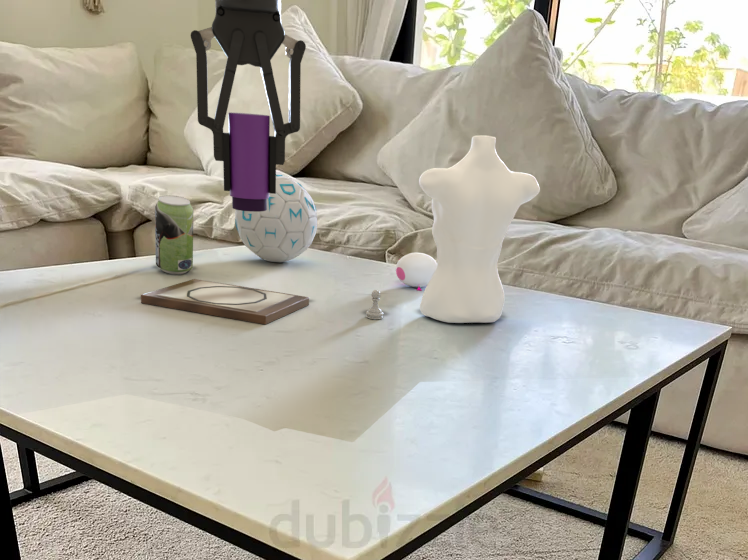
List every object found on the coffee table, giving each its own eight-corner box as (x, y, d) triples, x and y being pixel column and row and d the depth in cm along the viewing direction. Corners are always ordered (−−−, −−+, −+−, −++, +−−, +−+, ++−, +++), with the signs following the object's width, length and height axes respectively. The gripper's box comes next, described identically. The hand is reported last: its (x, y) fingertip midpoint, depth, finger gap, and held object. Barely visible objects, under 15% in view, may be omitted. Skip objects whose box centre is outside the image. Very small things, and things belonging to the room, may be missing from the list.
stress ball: (430, 303, 139) (428, 267, 140) (445, 285, 132) (443, 248, 132) (389, 301, 137) (387, 265, 138) (402, 283, 130) (400, 244, 130)
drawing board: (140, 303, 112) (140, 293, 111) (194, 286, 124) (194, 277, 123) (265, 324, 106) (265, 314, 106) (309, 305, 118) (309, 295, 118)
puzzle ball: (332, 263, 149) (335, 178, 142) (276, 272, 138) (276, 180, 131) (275, 250, 157) (276, 169, 150) (218, 257, 146) (215, 170, 139)
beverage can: (181, 267, 136) (178, 193, 130) (203, 275, 131) (201, 199, 126) (148, 269, 132) (143, 193, 126) (170, 278, 127) (166, 200, 122)
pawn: (372, 320, 113) (374, 292, 111) (362, 316, 114) (363, 288, 113) (386, 318, 114) (388, 291, 112) (376, 314, 116) (378, 287, 114)
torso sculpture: (500, 309, 125) (525, 136, 113) (529, 325, 117) (558, 141, 105) (394, 309, 119) (408, 128, 108) (416, 326, 111) (433, 132, 100)
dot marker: (222, 208, 99) (220, 112, 94) (241, 205, 104) (240, 112, 99) (258, 213, 98) (258, 115, 93) (275, 209, 102) (276, 116, 97)
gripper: (164, -42, 84) (175, 190, 95) (330, -23, 88) (323, 198, 98) (168, -33, 91) (178, 183, 101) (322, -15, 94) (316, 191, 105)
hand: (249, 190), depth 100 cm, fingers closed on dot marker, 5 cm apart
